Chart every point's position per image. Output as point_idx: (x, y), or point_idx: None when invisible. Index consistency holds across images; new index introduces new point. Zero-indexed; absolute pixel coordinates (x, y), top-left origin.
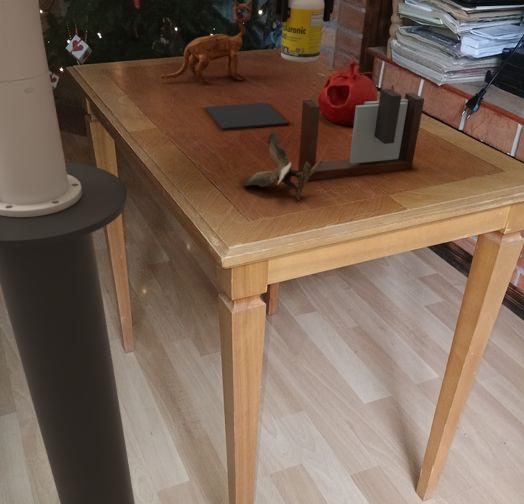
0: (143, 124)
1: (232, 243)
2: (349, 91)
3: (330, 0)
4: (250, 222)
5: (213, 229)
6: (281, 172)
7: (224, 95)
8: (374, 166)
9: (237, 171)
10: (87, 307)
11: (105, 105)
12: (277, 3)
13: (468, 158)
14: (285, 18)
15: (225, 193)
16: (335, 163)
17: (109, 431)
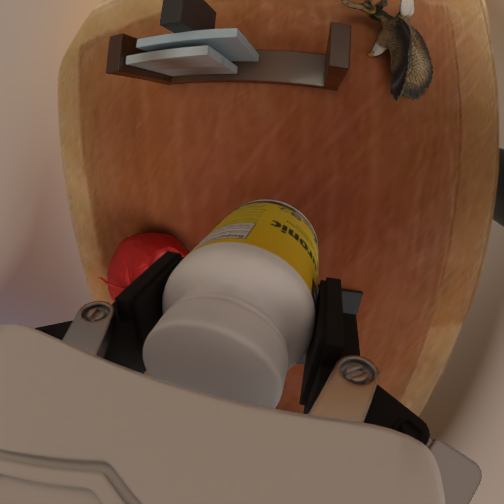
0: (435, 342)
1: None
2: (153, 257)
3: (142, 277)
4: (446, 4)
5: (482, 16)
6: (410, 10)
7: (287, 396)
8: None
9: (418, 134)
10: (501, 154)
11: (428, 400)
12: (354, 328)
13: (88, 86)
14: (330, 280)
15: (455, 79)
16: (278, 70)
17: None
